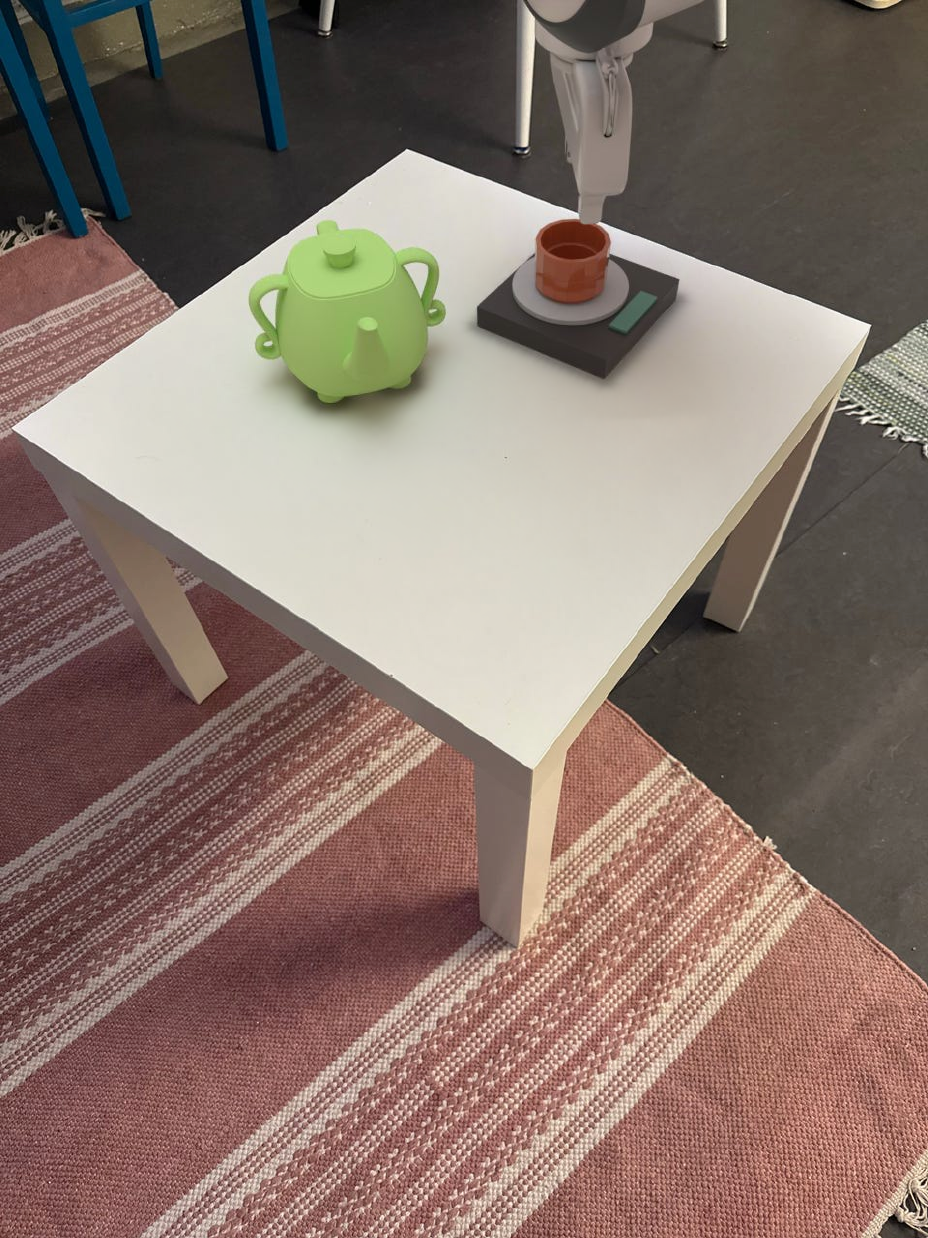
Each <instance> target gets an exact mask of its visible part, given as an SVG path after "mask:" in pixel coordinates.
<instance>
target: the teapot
mask: <svg viewBox="0 0 928 1238" xmlns="http://www.w3.org/2000/svg"><path fill="white" fill-rule="evenodd" d="M415 263H419V264H424V265H426V266H427V270H428V271H427V277H426V281H425V284H424V288H423V290H422V294H421V296H420V293H419V291H418V289H417V287H416V284H415V282H414V281H413V278H412V277H411V275H410V273H409V271H408V270H407V268H406V267H405V266H406V265H408V264H415ZM439 280H440V267H439V262H438V261H437V259H436V257H435V256H434V255H433V254H432V253H431V252H430V251H428V250H426V249H423V248H420V247H415V246H414V247H406V248H403V249H400V250H398V251H396V252H395V251H394V250H393V248H392V247H391V246H390V244H389V243H388V242H387V241H386V240H385V239H384V238H383V237H382V236H381V235H379V234H378V233H376V232H374V231H372V230H369V229H365V228H348V229H341V230H340V229H339V226H338V223H337V222H336V221H335V220H333V219H325V220H322V221H319V222H318V223H317V224H316V235H312V236H309V237H306V238H304V239H302V240H300V241H298V242H297V243H295V245H293V246H292V248H291V249H290V251H289V253H288V255H287V258H286V261H285V263H284V266H283V270H282V273H274V274H268V275H265V276H263V277H261V278H260V279H259V280H257V281H256V282H255V283H254V284H253V285H252V286H251V288H250V291H249V293H248V306H249V309H250V312H251V314H252V316H253V318H254V320H255V321H256V323H257V324H258V325H259V327H260V328H261V330H262V331H263V332H262V333H259V334H258V335H257V336H256V338H255V340H254V348H255V351H256V353H257V354H258V356H259V357H261V358H262V359H265V360H278V359H279V358H280V357H281V358H282V359H283V361H284V363H285V365H286V367H288V369H289V370H290V372H291V373H292V374H293V375H294V376H295V377H296V378H297V379H298V380H299V381H300V382H302V384H304V385H305V386H307V387H308V388H309V389H311V390H313V391H315V392H316V393H317V395H316V396H317V397H318V400H320V401H321V402H322V403H327V404H334V403H338V402H340V401H341V400H343V399H344V397H351V396H357V395H363V394H369V393H373V392H378V391H381V390H384V389H387V388H390V389H394V390H396V389H397V390H398V389H403V388H405V387H408V385H410V383H411V381H412V375H413V373H414V372H415V371H416V370H417V369H418V367H419V366H420V364H421V363H422V361H423V359H424V358H425V355H426V351H427V348H428V342H429V330H428V327H431V328H432V327H436V326H438V325H440V324H442V322H444V320H445V319H446V314H447V310H446V309H447V308H446V306H445V304H444V302H442V300H440V299H437V298H436V299H435V295H436V292H437V289H438V285H439ZM273 291H277V294H276V301H275V308H274V312H275V313H274V322H275V326H274V325H273V323H272V322H271V321H270V319H269V318H268V317H267V315H266V313H265V312H264V311H263V308H262V306H261V300H262V298H263V297H265V295H267V294H269V293H271V292H273ZM433 310H435V311H433ZM430 311H433V312H430ZM268 342H271V343H272V344H270V345H264V344H266V343H268Z"/></svg>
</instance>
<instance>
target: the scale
mask: <svg viewBox="0 0 928 1238" xmlns="http://www.w3.org/2000/svg"><path fill="white" fill-rule="evenodd" d="M534 265H535V252H534V253H533V254H531V255H530V256H529V257H528V258H527V259H526V260H525V261H524V262H522V264H520V265H519V267H518V268H516V269H515V271H513V272H511V274H510V275H509V276H507V277H506V279H505V280H503V282H502V283H500V284H499V285H498V286H497V287H496V288H495V289H494V290H493V291H492V292H491V293H490V294H488V295H487V297H485V298H484V299H483V300H482V301H481V302H480V303H479V304H478V305H477V306H476V326H477V327H479V328H482V329H484V330H486V331H489V332H491V333H494V334H496V335H499V336H500V337H503V338H506V339H508V340H510V341H513V342H515V343H517V344H520V345H522V346H525V347H527V348H529V349H531V350H534V351H536V352H539V353H540V354H544V355H546V356H548V357H550V358H553V359H555V360H558V361H560V362H563V363H565V364H566V365H567V364H568V365H570V366H572V367H574V368H576V369H579V370H582V371H584V372H587V373H588V374H590V375H593V376H596V377H598V378H601V379H603V380H605V379H606V378H607V377H608V376H609V374H611V372H612V371H613V370H614V369H615V368H616V367H617V365H618V364H619V363H620V362H621V361H622V360H623V359H624V358H625V356H626V355H627V354H628V353H629V352H630V351H631V350H632V349H633V347H635V345H636V344H637V343H638V342H639V341H640V339H642V338H643V337H644V335H645V334H646V333H647V332H648V331H649V330H650V328H651V327H652V326H653V325H654V324H655V323H656V322H657V320H658V319H660V317H661V316H662V315H663V314H664V313H665V311H666V310H668V308H669V307H670V306H671V305H672V304H673V303H674V302H675V301H676V299H677V296H678V290H679V285H680V278H677V277H674V276H672V275H669V274H666V273H664V272H662V271H658V270H656V269H653V268H651V267H648V266H645V265H642V264H640V263H637V262H633V261H631V260H628V259H626V258H623V257H620V256H617V255H615V254H612V253H610V256H609V264H608V273H607V281H606V284H605V286H604V289H603V290H602V291H601V292H600V293H598V294H597V295H596V296H594V297H592V298H591V299H589V300H586V301H583V302H579V303H563V302H558V301H555V300H552V299H550V298H548V297H547V296H546V295H544V294H543V293H541V291H540V290H539V289H538V288H537V287H536V285H535V280H534Z"/></svg>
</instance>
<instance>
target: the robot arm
mask: <svg viewBox="0 0 928 1238" xmlns="http://www.w3.org/2000/svg"><path fill="white" fill-rule="evenodd" d="M522 1H523V3H524V5H525V7H526V8H527V9H528V12H529V13H530V14H531V15H532V16H533V18H534V38H535V40H536V41H537V43H538V44H539V45H540V46H541V47H542V48H543V49H545V50H546V51H548V52H549V59H550V60H549V61H550V68H551V76H552V81H553V85H554V89H555V94H556V99H557V102H558V107H559V110H560V116H561V121H562V125H563V128H564V129H563V130H564V135H565V138H564V154H565V158H566V159H565V160H566V162H567V163H568V164H570V165H572V170H573V174H574V177H575V182H576V188H577V191H578V193H579V195H578V207H577V212H578V219H580V222H581V223H582V224H597V225H598V224H599V223H600V222H601V221H602V218H603V208H604V203H605V200H606V197H611V196H618V195H621V194H622V193H623V192H624V190H625V189H626V186H627V182H628V177H629V168H630V166H629V165H630V154H631V141H632V140H631V139H632V125H633V92H632V86H631V82H630V79H629V77H628V72H627V70H626V68H627V67H628V66H629V65H630V64H631V63H632V61H633V59H634V53H636V52H638V51H639V50H641V49H643V47H645V46H647V44H648V43H649V42H650V40H651V38H652V36H653V31H654V23H655V22H657V21H660V20H662V19H665V18H667V17H670V16H672V15H674V14H677V13H680V12H682V11H684V10H686V9H689V8H691V7H693V6H696V5H698V4H701V3H702V2H705V0H522Z"/></svg>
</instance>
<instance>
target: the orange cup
mask: <svg viewBox="0 0 928 1238" xmlns="http://www.w3.org/2000/svg"><path fill="white" fill-rule="evenodd" d="M534 243H535V244H534V253H535V265H534V280H535V285H536V287H537V288H538V289H539V290H540V291H541V293H543V294H544V295H546V296H547V297H548V298H550V299H552V300H555V301H558V302H563V303H579V302H583V301H586V300H589V299H591V298H592V297H594V296H596V295H597V294H598V293H600V292H601V291H602V290H603V289H604V286H605V284H606V281H607V273H608V264H609V256H610V254H611V246H612V245H611V244H612V240H611V237H610V233H609V232H608V231H607V230H606V229H605V228H604V227H603V226H601V225H599V224H598V223H597V224H582V223H581V222H580V219H579V218H565V219H564V218H563V219H559V220H556V221H552V222H549V223H547V224H546V225H545V226H543V227H542V228H540V229H539V230H538V233H537V235H536V236H535V241H534Z"/></svg>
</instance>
